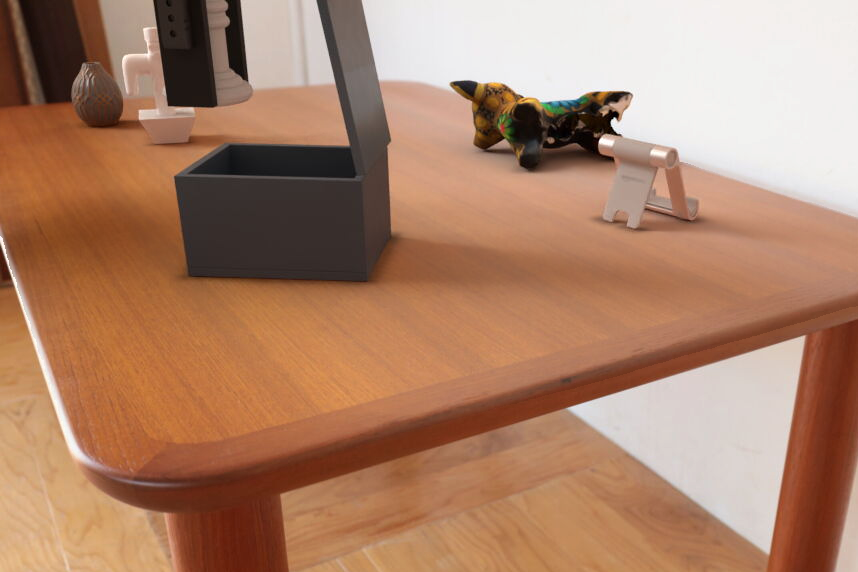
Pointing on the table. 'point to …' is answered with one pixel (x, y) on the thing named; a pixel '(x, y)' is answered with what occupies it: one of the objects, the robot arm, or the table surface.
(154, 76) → the figurine
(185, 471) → the table surface
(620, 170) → the tablet stand
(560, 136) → the dog figurine
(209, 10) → the chess piece
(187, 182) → the chest
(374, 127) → the lid
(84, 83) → the vase
